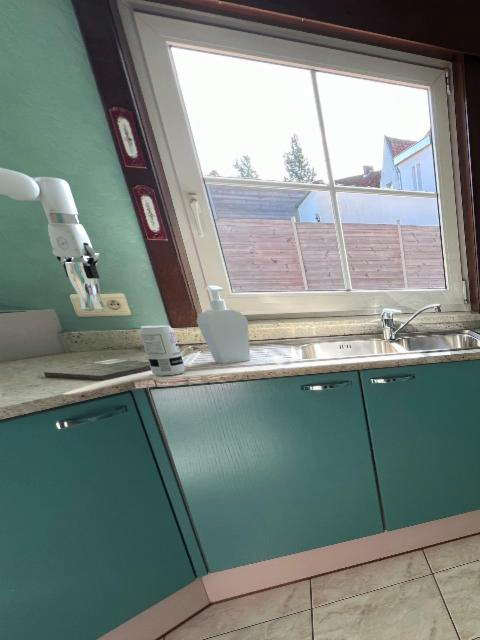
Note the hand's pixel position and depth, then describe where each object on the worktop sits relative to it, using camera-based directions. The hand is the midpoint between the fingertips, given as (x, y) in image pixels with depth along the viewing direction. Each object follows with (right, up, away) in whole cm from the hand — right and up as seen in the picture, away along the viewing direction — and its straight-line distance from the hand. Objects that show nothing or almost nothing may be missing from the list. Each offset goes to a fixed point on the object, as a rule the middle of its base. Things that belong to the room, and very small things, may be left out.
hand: (83, 277), depth 166 cm
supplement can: (+37, -34, -8) cm, 51 cm away
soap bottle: (+42, -26, +12) cm, 51 cm away
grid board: (+17, -33, -8) cm, 38 cm away
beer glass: (0, -10, +4) cm, 10 cm away
